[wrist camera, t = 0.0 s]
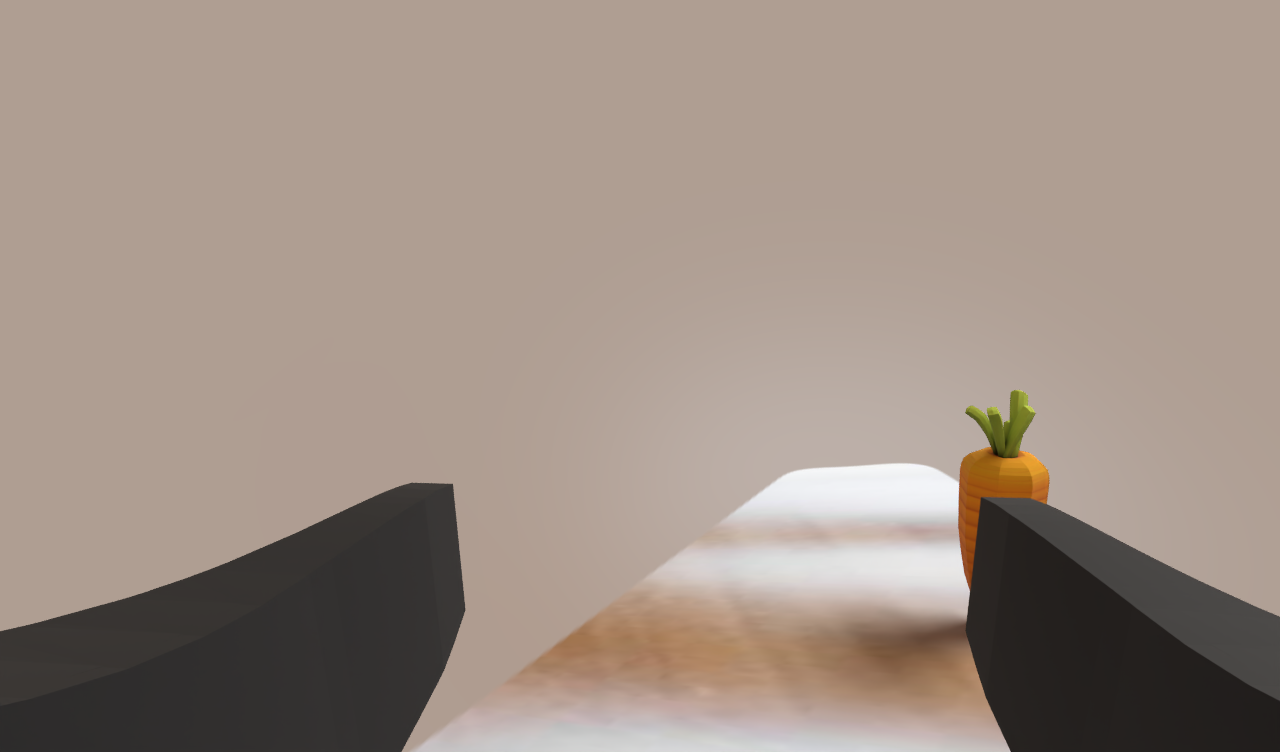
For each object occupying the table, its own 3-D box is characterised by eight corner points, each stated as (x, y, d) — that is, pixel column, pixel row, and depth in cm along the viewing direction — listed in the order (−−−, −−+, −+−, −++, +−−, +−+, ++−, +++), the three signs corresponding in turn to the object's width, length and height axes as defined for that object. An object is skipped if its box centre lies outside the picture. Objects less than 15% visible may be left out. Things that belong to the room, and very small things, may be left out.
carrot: (981, 651, 48) (1002, 407, 45) (932, 611, 52) (948, 387, 49) (1052, 639, 49) (1078, 400, 46) (998, 601, 54) (1017, 382, 50)
